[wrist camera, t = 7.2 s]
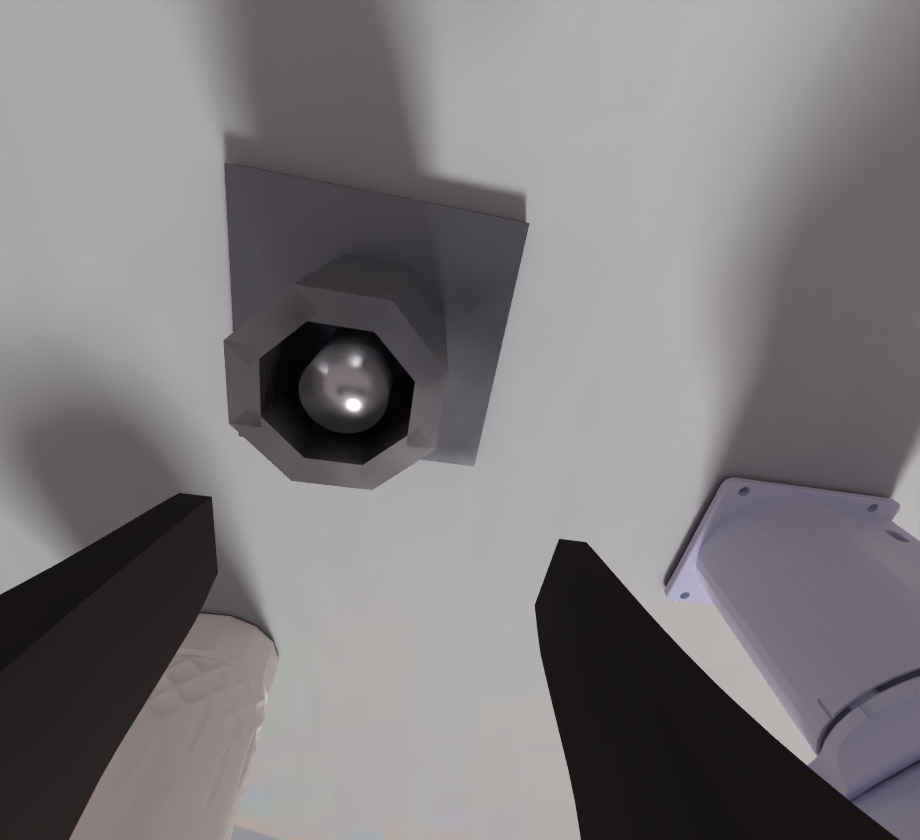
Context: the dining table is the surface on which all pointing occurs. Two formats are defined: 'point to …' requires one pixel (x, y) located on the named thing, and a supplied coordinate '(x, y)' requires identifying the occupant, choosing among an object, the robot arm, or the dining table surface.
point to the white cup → (189, 741)
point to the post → (387, 239)
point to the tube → (296, 344)
